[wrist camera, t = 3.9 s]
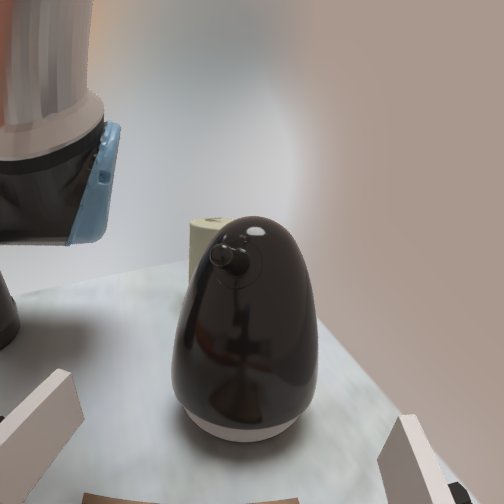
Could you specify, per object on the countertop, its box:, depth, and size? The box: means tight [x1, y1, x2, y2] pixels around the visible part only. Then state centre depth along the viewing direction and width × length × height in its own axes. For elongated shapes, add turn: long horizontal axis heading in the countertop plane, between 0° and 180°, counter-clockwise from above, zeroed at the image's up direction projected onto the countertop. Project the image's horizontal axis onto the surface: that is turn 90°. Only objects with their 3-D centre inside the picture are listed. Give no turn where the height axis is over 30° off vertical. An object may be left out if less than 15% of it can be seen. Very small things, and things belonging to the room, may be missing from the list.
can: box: [189, 218, 236, 283], centre depth 40 cm, size 9×9×12 cm
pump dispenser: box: [171, 216, 318, 442], centre depth 20 cm, size 10×10×15 cm
